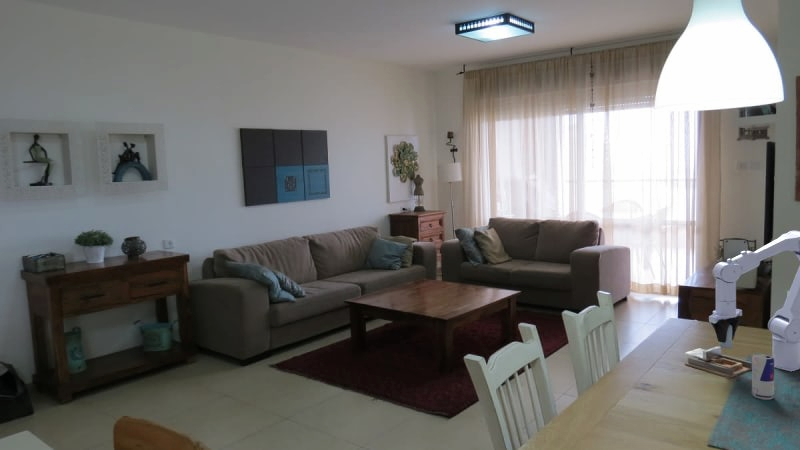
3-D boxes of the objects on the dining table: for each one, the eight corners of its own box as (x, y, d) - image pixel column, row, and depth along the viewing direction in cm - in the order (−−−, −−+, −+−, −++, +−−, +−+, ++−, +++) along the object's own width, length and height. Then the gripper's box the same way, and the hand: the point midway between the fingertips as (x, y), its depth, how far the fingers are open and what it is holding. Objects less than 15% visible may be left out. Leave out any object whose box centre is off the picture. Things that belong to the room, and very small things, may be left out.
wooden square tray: (711, 356, 201) (711, 350, 201) (755, 368, 188) (755, 361, 187) (685, 365, 194) (685, 358, 194) (729, 378, 181) (729, 371, 181)
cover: (698, 349, 201) (698, 341, 201) (721, 355, 194) (721, 347, 194) (684, 354, 197) (684, 346, 197) (706, 360, 191) (706, 351, 190)
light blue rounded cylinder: (724, 344, 191) (724, 323, 190) (734, 346, 188) (734, 325, 187) (716, 346, 189) (716, 325, 188) (727, 349, 186) (727, 327, 185)
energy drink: (777, 400, 163) (777, 359, 162) (756, 400, 164) (756, 358, 163) (769, 393, 168) (769, 352, 167) (748, 392, 169) (749, 352, 168)
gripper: (727, 294, 194) (727, 333, 195) (700, 301, 187) (700, 342, 188) (748, 297, 188) (748, 338, 189) (721, 305, 181) (721, 347, 182)
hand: (725, 340), depth 188 cm, fingers closed on light blue rounded cylinder, 4 cm apart
